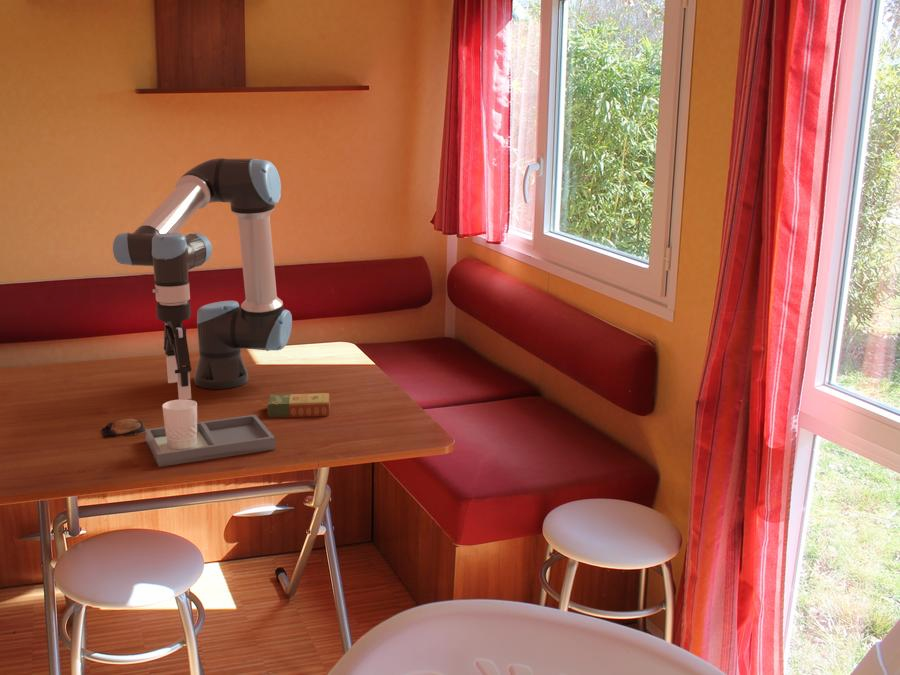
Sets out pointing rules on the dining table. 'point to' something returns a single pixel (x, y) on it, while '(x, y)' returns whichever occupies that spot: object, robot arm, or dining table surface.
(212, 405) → the dining table surface
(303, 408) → the carton
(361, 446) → the dining table surface
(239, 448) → the gray divided tray
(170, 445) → the white cup
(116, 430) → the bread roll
